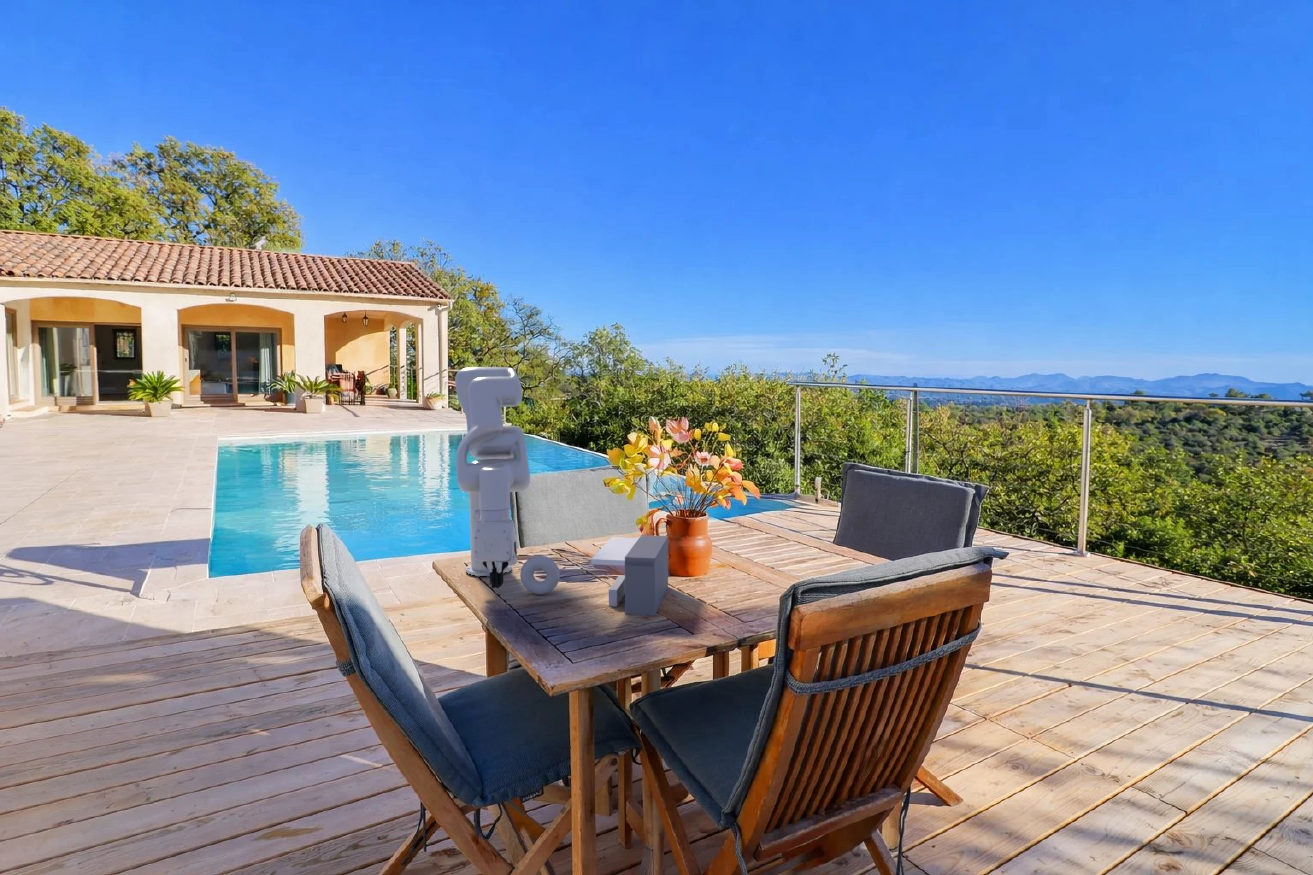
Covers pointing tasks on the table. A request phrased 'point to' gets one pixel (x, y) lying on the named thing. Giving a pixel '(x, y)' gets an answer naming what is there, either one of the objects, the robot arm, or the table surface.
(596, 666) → the table surface
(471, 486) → the robot arm
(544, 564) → the donut
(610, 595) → the ledge cabinet
